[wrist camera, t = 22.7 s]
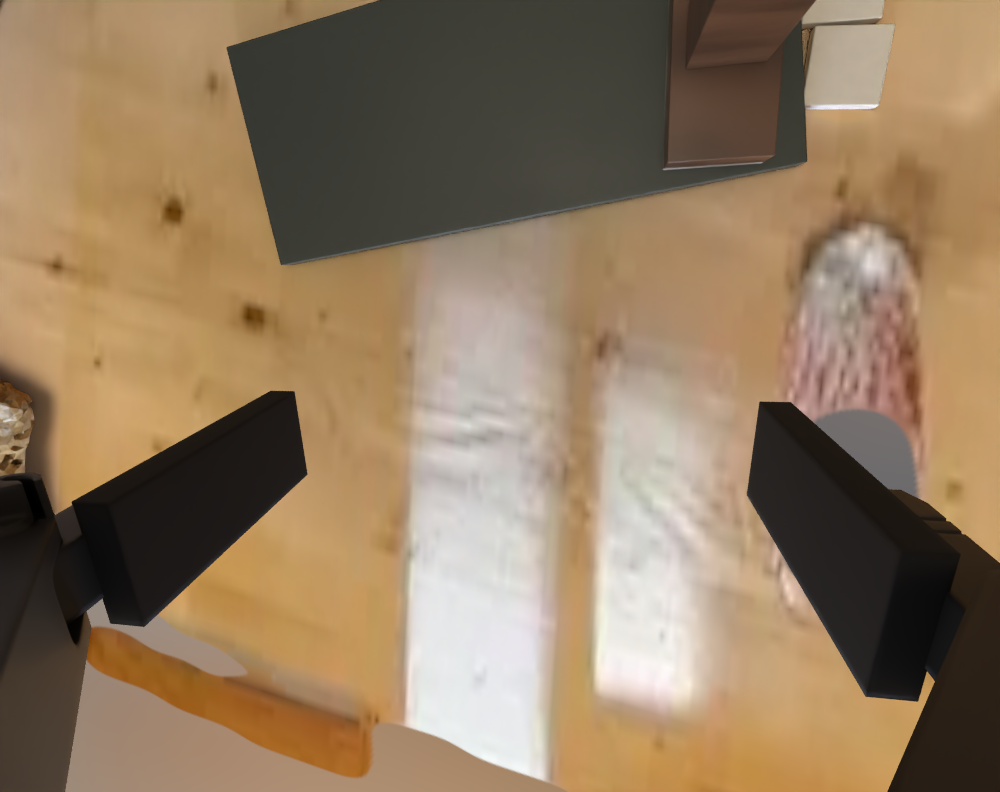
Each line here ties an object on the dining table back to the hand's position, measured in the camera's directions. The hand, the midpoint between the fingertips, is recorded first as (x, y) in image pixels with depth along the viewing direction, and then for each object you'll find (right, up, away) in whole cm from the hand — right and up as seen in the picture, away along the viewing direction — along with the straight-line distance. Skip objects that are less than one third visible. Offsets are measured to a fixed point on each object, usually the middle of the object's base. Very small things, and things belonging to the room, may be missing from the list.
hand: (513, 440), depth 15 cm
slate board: (0, +20, +19) cm, 27 cm away
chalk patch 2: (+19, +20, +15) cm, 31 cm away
